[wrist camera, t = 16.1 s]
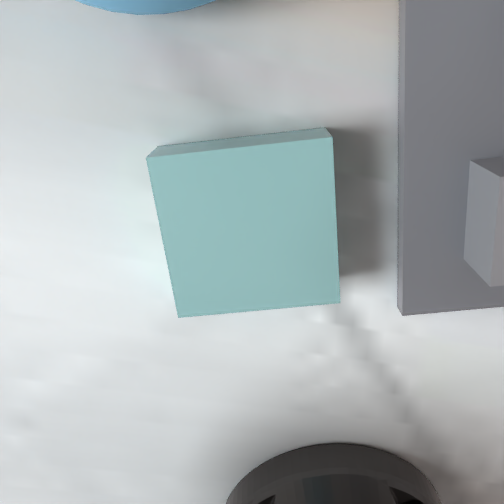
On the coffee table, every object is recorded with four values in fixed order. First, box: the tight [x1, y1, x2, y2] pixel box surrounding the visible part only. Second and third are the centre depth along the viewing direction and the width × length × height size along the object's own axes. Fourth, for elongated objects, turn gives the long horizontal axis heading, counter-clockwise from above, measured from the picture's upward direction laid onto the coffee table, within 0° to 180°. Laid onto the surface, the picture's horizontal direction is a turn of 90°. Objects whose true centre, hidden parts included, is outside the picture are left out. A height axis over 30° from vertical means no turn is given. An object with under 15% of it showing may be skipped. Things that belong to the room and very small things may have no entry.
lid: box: [146, 127, 340, 318], centre depth 23 cm, size 8×8×3 cm
